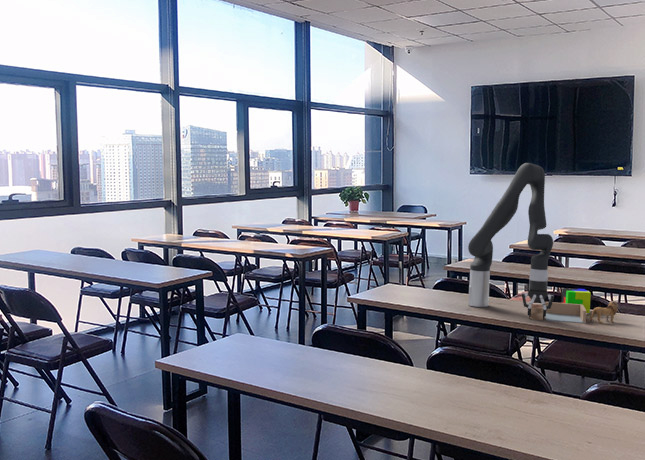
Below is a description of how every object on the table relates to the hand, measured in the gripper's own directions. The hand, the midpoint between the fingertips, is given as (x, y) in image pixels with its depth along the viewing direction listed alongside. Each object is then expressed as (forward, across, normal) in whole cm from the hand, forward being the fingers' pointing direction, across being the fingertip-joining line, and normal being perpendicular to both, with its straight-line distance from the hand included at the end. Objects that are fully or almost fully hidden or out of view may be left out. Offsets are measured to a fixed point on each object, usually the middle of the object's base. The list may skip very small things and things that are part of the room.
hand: (536, 317), depth 277 cm
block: (+1, 0, 0) cm, 1 cm away
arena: (+1, +12, +6) cm, 13 cm away
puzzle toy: (+1, +18, +24) cm, 30 cm away
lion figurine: (+1, +28, +4) cm, 28 cm away
